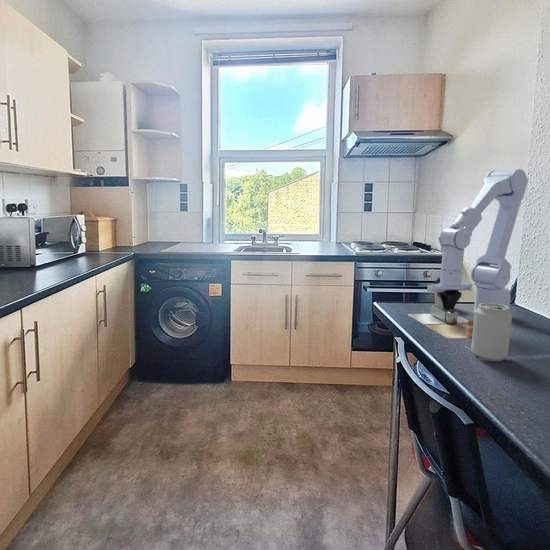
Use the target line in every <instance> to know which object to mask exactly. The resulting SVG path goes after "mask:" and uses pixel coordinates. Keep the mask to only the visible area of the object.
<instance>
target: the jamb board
mask: <svg viewBox="0 0 550 550" xmlns="http://www.w3.org/2000/svg"><path fill="white" fill-rule="evenodd" d="M450 312H453V313H454V312H456V309H453V310H450ZM406 315H408V316H409V317H410V318H412V319H414V320H416V321H417V322H418V323H421V324H423V325H424V326H425V327H428V328H429V329H431V330H432V331H434V332H435V333H437V334H438V335H440V336H442V337H444V338H445V339H446V340H447V339H448V340H449V339H472V335H473V325H474V320H468V319H467V318H464V317H462V316H459V315H458V320H457V324H447V323H446V322H444V321H443V320H441V319H439V318H437V317H435V316H433V315H431V313H408V314H407V313H406Z"/></svg>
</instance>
